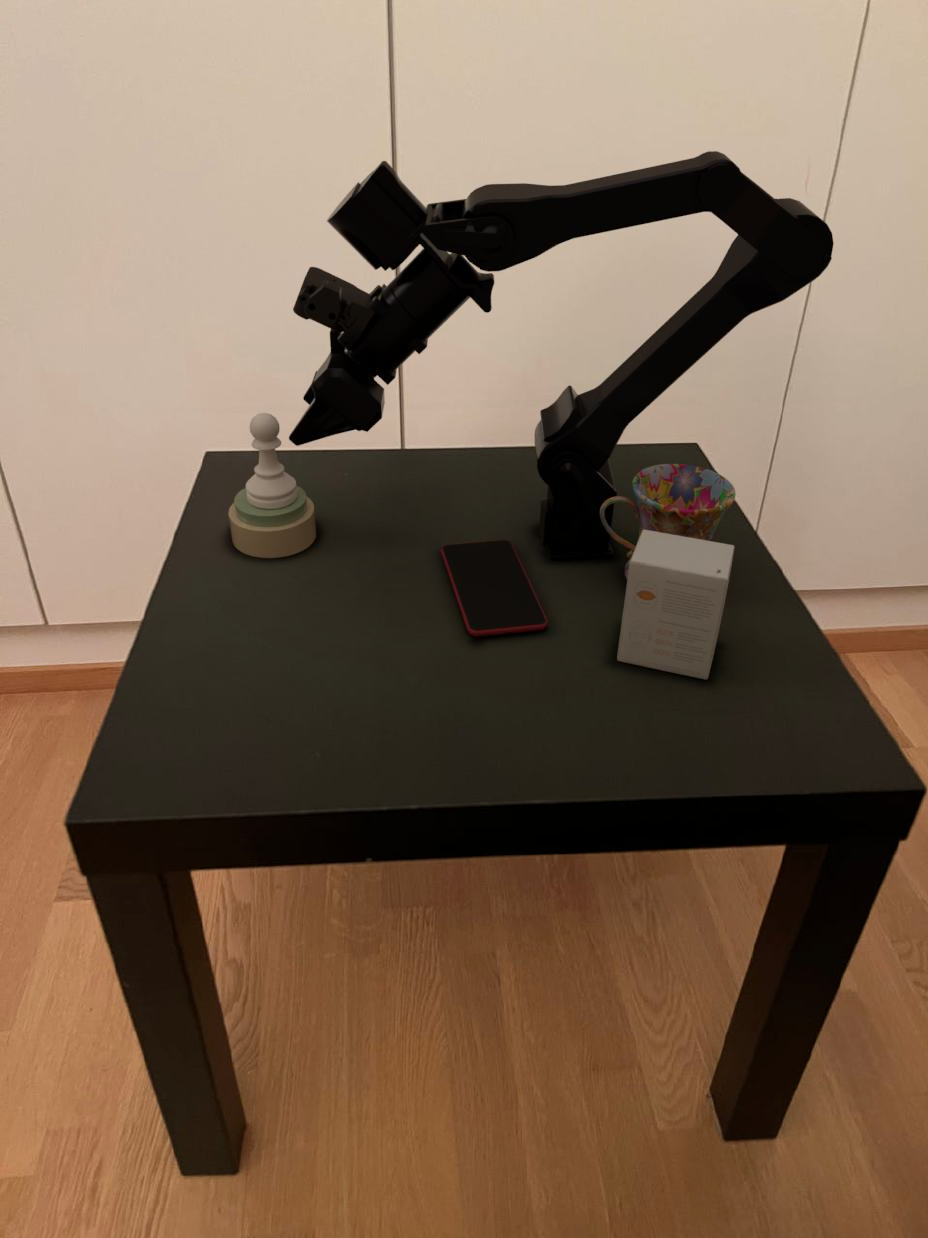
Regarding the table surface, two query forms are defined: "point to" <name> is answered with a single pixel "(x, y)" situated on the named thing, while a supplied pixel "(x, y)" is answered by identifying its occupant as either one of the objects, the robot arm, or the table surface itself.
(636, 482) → the mug
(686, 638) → the small box
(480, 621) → the smartphone
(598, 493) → the robot arm
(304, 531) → the push button
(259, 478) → the chess pawn
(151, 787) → the table surface
